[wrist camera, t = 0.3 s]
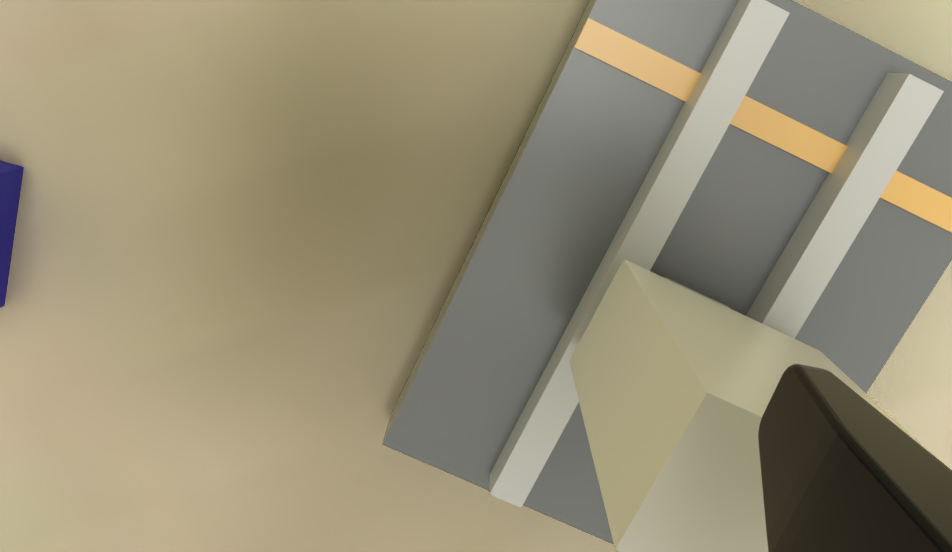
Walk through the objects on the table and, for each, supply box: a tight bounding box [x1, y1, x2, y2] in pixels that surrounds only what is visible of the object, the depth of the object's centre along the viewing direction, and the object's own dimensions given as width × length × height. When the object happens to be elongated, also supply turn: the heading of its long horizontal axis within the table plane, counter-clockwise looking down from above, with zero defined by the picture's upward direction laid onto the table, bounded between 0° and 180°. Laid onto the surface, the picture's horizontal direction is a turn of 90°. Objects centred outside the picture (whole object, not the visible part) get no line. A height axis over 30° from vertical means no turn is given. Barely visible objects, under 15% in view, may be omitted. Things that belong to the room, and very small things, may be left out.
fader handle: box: [569, 259, 933, 552], centre depth 18 cm, size 3×6×11 cm, turn 65°
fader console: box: [383, 0, 952, 544], centre depth 24 cm, size 16×12×3 cm
